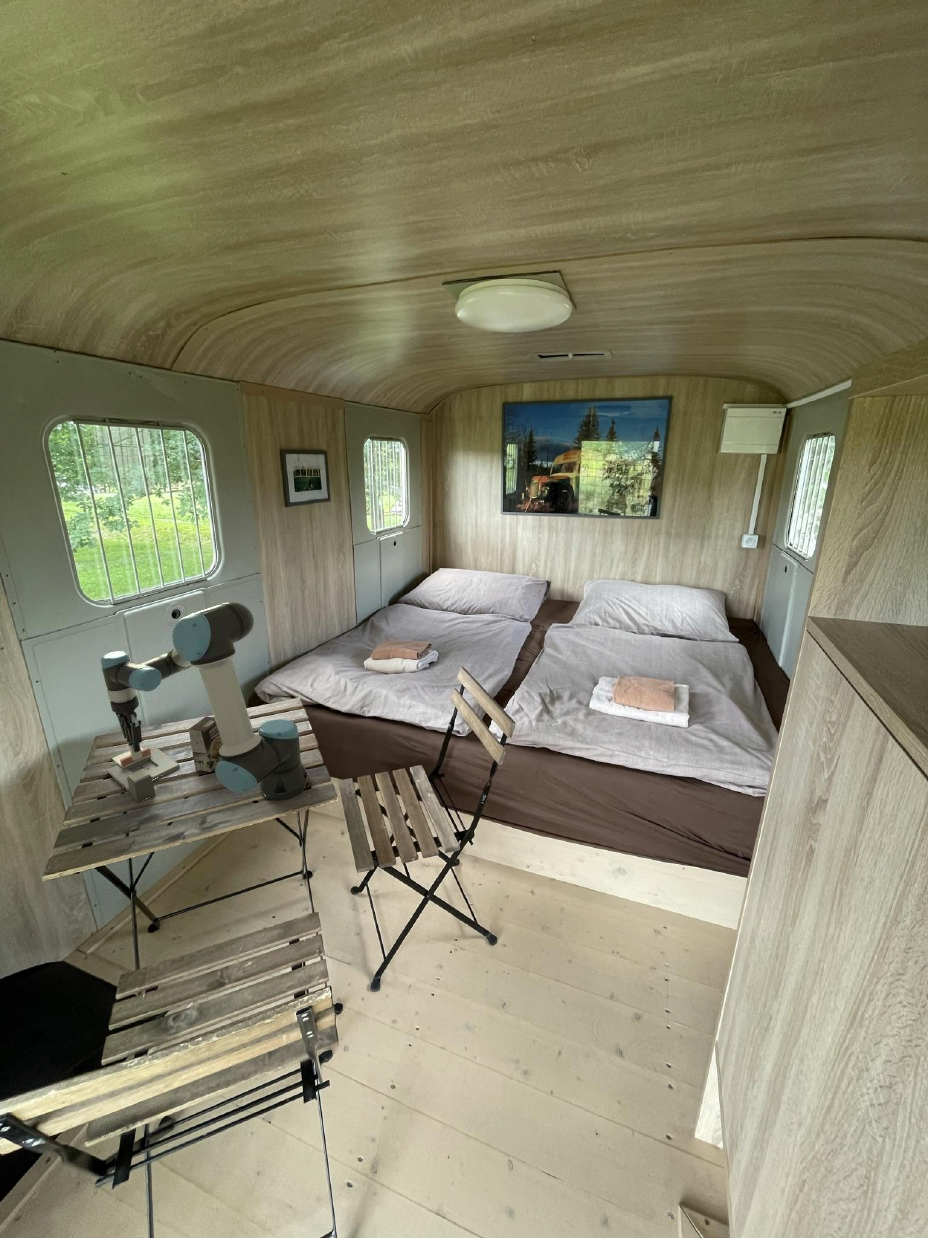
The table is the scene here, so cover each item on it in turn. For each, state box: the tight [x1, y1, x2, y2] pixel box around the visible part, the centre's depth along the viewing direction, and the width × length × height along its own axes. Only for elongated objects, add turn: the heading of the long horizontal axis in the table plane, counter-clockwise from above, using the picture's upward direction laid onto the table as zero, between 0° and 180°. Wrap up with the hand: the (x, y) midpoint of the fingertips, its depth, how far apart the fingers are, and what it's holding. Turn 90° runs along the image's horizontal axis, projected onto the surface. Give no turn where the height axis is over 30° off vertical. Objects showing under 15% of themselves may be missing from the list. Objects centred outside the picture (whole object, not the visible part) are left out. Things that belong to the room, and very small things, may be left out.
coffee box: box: [188, 715, 223, 773], centre depth 173 cm, size 9×6×16 cm
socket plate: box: [106, 747, 181, 793], centre depth 171 cm, size 16×16×1 cm
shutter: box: [112, 745, 151, 768], centre depth 174 cm, size 8×9×3 cm
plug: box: [127, 769, 156, 804], centre depth 158 cm, size 5×5×8 cm
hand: (137, 758), depth 171 cm, fingers closed
